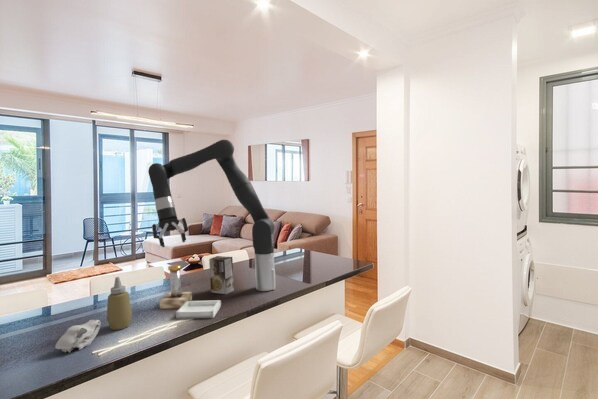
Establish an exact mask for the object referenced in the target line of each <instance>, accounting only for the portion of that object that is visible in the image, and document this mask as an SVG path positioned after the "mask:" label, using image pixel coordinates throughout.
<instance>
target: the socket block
mask: <svg viewBox="0 0 598 399" xmlns="http://www.w3.org/2000/svg"><path fill="white" fill-rule="evenodd" d="M187 301H193V292H192V291H181V297H180V298H171V291H169V292H168V293H166V294H165V295H164V296H162V298H160V299H159V302H158V303H159V309H180V308H181V307H182V306H183V305H184V304H185V303H186V302H187Z"/></svg>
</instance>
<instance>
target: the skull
mask: <svg viewBox="0 0 598 399" xmlns="http://www.w3.org/2000/svg"><path fill="white" fill-rule="evenodd" d="M101 324H102V322H101V321H100V320H99V319H89V320H88V321H87V322H85V323H83V324H78V325H77V324H75V325H71V326H70V327H68V328H67V329H66V331H65V332H64V333H63V335H62V336H60V338H59V339H58V340H57V342H56V343H55V347H54V348H55V349H56V350H61V351H62V353H67V352H68V353H72V352H71V351H73V350H74V349H75V348H78V350H79V351H81V350H83V349H84V348H85V347H89V346H90V345H91V344H92V342H93V341H94V340H95V339H96V336H97V335H98V333H99V331H100V328H101Z"/></svg>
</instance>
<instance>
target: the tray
mask: <svg viewBox="0 0 598 399" xmlns="http://www.w3.org/2000/svg"><path fill="white" fill-rule="evenodd" d="M221 307H222V300H221V299H216V300H215V299H214V300H191V301H187V302H186V303H185V304H184V305H183V306H182V307H181V308H178V309H177V311H175V316H176V318H175V319H176V320H179V319H181V320H185V319H212V318H213V319H214V317H215V316H216V315H217V313H218V312H219V310H220V308H221Z"/></svg>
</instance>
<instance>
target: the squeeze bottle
mask: <svg viewBox="0 0 598 399" xmlns="http://www.w3.org/2000/svg"><path fill="white" fill-rule="evenodd" d="M121 281H122V280H121V277H120V276H116V277H115V278H114V285H113V287H111V288H110V294H109V295H108V296H107V305H106V306H107V307H106V322H107V323H108V325H109V328H110V330H112V331H117V330H122V329H123V330H124V329H126V328H128V327H129V326H130V324H131V320H132V316H133V311H132V305H131V300H130V295H129V292H128V291H126V286H125V285H123V284H122V282H121Z"/></svg>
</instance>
